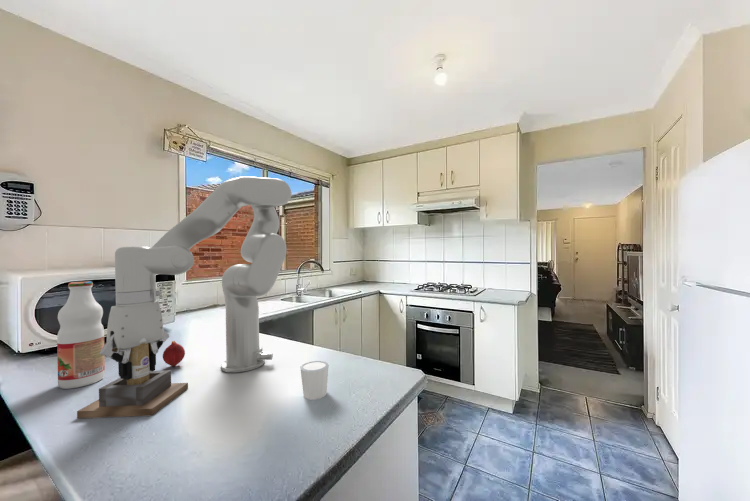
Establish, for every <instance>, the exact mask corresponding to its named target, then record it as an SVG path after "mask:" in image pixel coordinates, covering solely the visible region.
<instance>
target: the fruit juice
mask: <svg viewBox="0 0 750 501" xmlns="http://www.w3.org/2000/svg"><path fill="white" fill-rule="evenodd" d="M93 282H94V281H90V280H88V281H75V282H74V281H73V282H68V285H67V287H68V289H69V295H68V298H67V300H66V302H65V304H64V305H63V306H62V307H61V308H60V309H59V310H58V314H57V320H58V323H59V326H60V327H59V330H58V332H57V337H56V339H57V340H56V344H57V350H56V351H57V355H56V356H57V358H56V359H57V386H58V388H60V389H62V390H66V389H68V390H69V389H76V388H81V387H85V386H88V385H89V386H90V385H93V384H95V383H97V382H99V381H102V380H103V379H104V377H105V373H106V372H105V370H106V369H105V368H106V367H105V362H106V361H105V357H106V356H103V355H100V351H101V350H102V348H103V347H104V345H105V329H104V325H103V324H102V318H103V315H104V309H103V307H102V305H101V304H99V302H98V301H96V299H95V296H94V295H93V292H92V288H93V286H94V283H93Z"/></svg>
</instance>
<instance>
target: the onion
mask: <svg viewBox="0 0 750 501" xmlns="http://www.w3.org/2000/svg"><path fill="white" fill-rule="evenodd" d="M185 354H186V351H185V348H184V347H183V346H182V345H181V344H179V343H177V342H176V341H175V340H172V341H171V344H169V345H168V346H167V347H166V348H165V349H164V351H163V353H162V359H163V362H164V363H165V364H166V365H169V366H171V367H175V366H177V365H178V364H180V363H181V362H182V361H183V359H184V358H185Z"/></svg>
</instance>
